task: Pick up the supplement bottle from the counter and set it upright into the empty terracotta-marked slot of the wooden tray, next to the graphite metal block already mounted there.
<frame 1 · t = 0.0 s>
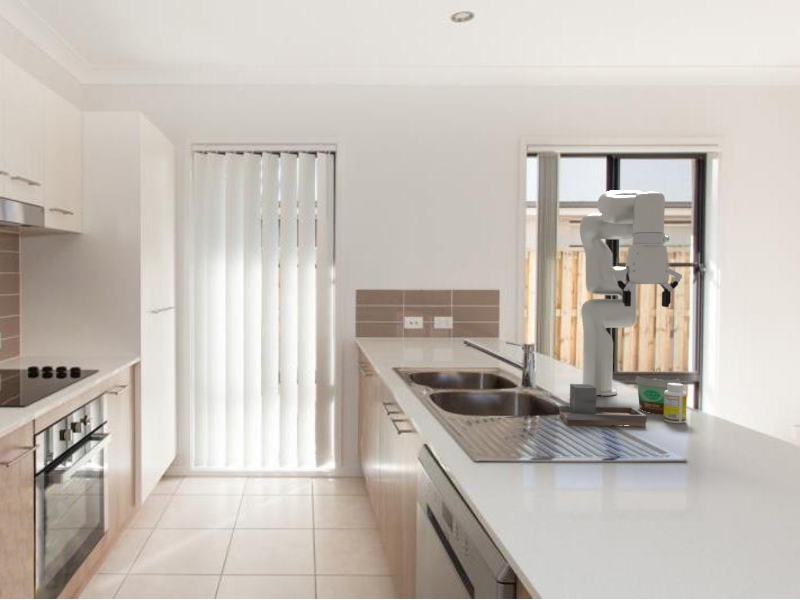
hand: (646, 306, 156), 31 cm above the counter, fingers open, 9 cm apart
supplement bottle: (674, 422, 162), on the counter
wooden tray: (601, 421, 161), on the counter
food container: (655, 413, 173), on the counter
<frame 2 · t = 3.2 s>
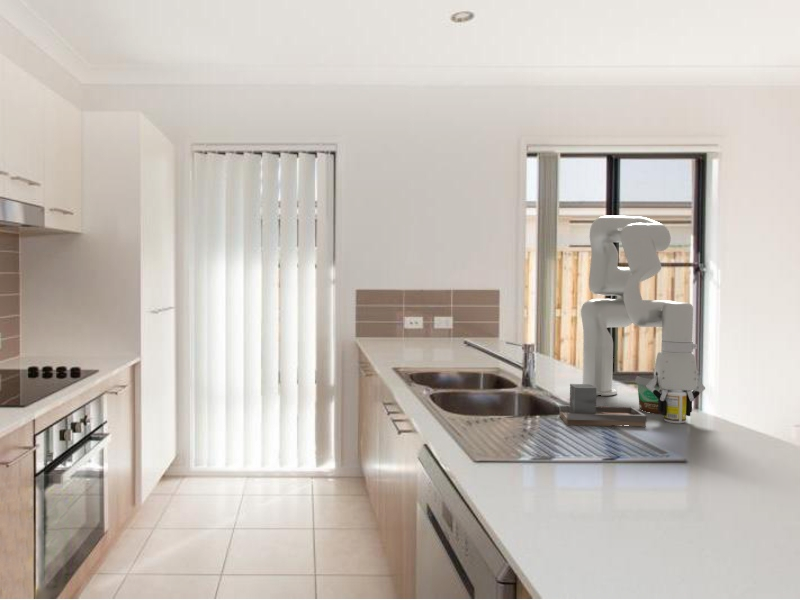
hand: (674, 414, 162), 2 cm above the counter, fingers closed on supplement bottle, 5 cm apart
supplement bottle: (674, 422, 162), on the counter, touching gripper
everything else where it was.
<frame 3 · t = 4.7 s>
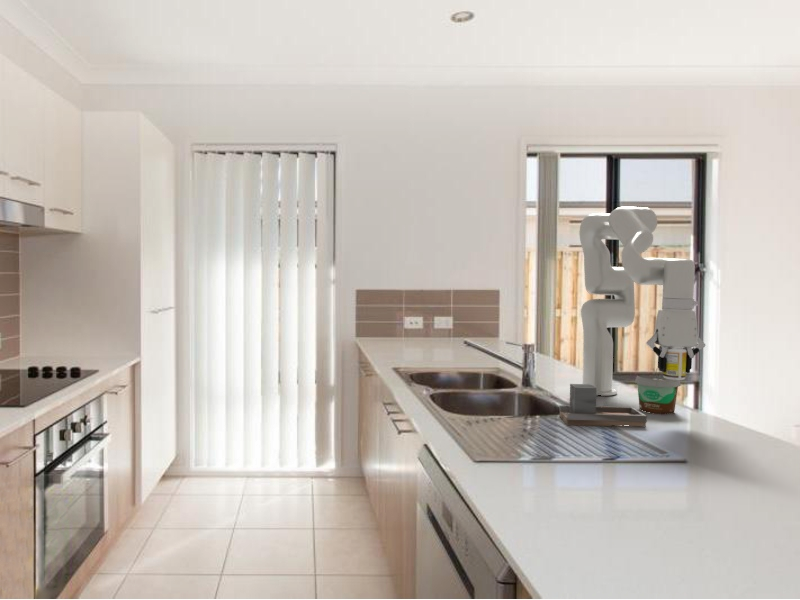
hand: (674, 371, 162), 14 cm above the counter, fingers closed on supplement bottle, 5 cm apart
supplement bottle: (673, 379, 162), point 11 cm above the counter, touching gripper
everything else where it was.
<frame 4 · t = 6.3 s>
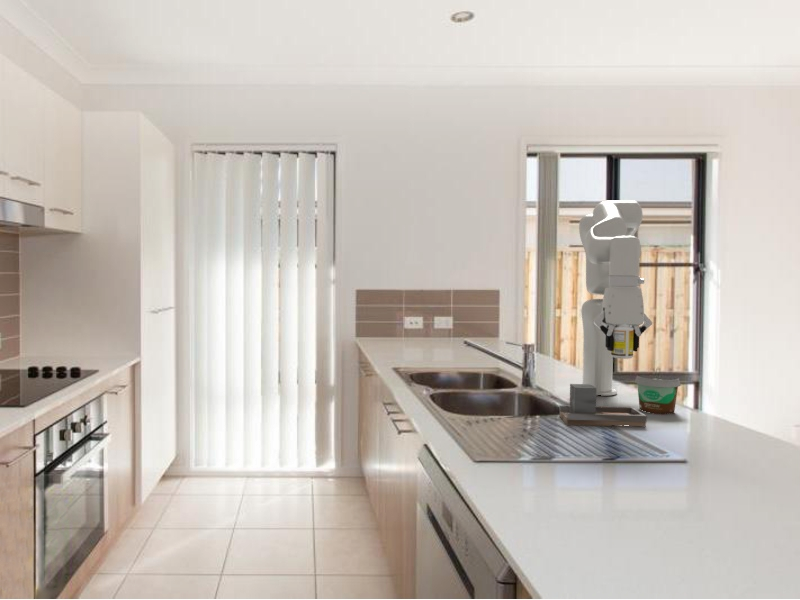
hand: (621, 349, 160), 19 cm above the counter, fingers closed on supplement bottle, 5 cm apart
supplement bottle: (621, 358, 160), point 17 cm above the counter, touching gripper
everything else where it was.
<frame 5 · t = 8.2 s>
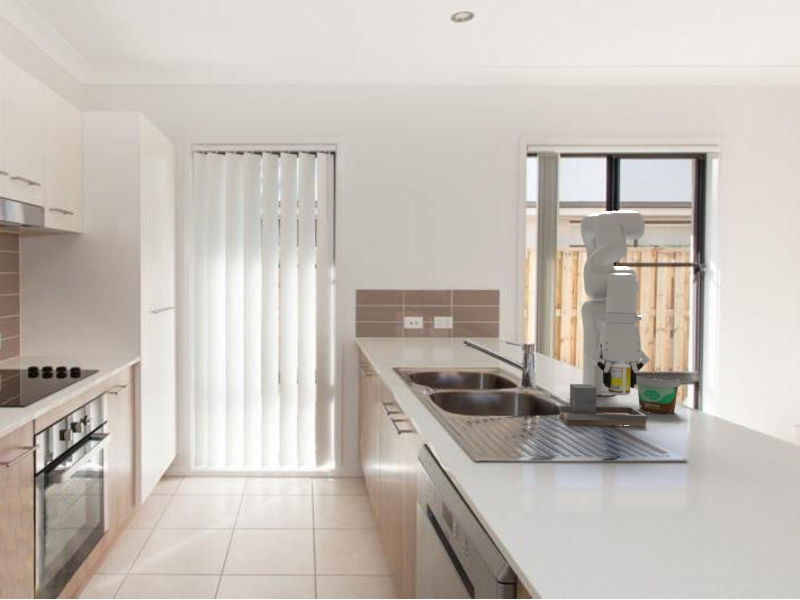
hand: (619, 386, 160), 10 cm above the counter, fingers closed on supplement bottle, 5 cm apart
supplement bottle: (619, 394, 160), point 7 cm above the counter, touching gripper
everything else where it was.
when the fingers open (4 cm above the counter, at t = 9.7 s): supplement bottle stays where it is, resting on wooden tray.
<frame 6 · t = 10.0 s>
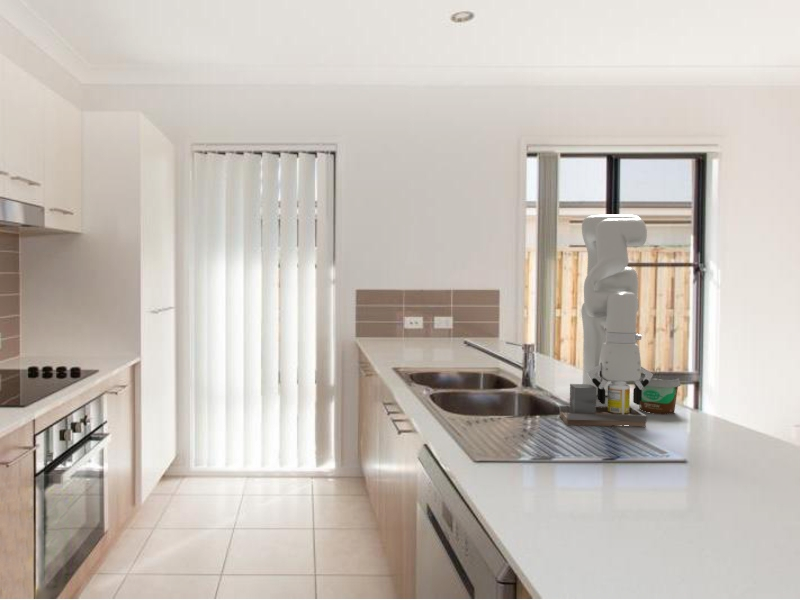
hand: (619, 403, 161), 5 cm above the counter, fingers open, 8 cm apart
supplement bottle: (618, 416, 161), point 2 cm above the counter, touching wooden tray
everything else where it was.
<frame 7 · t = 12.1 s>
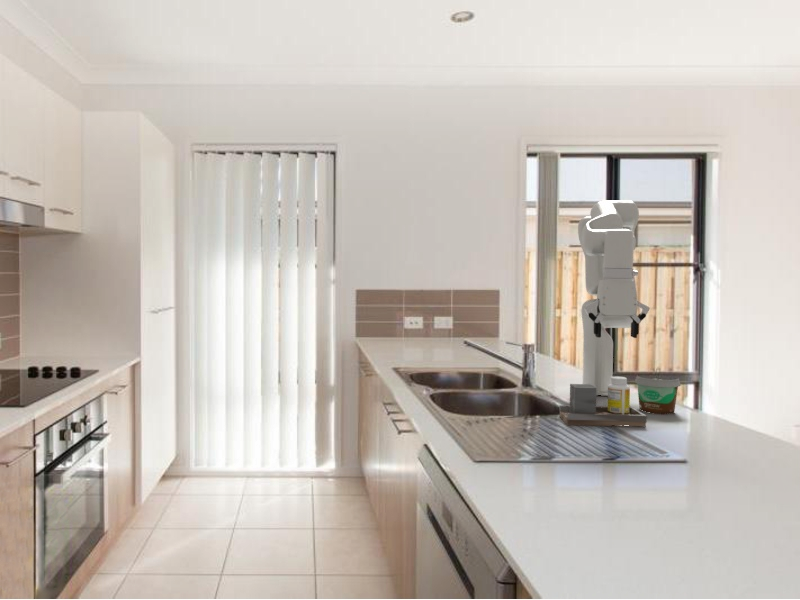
hand: (615, 337, 165), 22 cm above the counter, fingers open, 9 cm apart
nothing on the counter moved.
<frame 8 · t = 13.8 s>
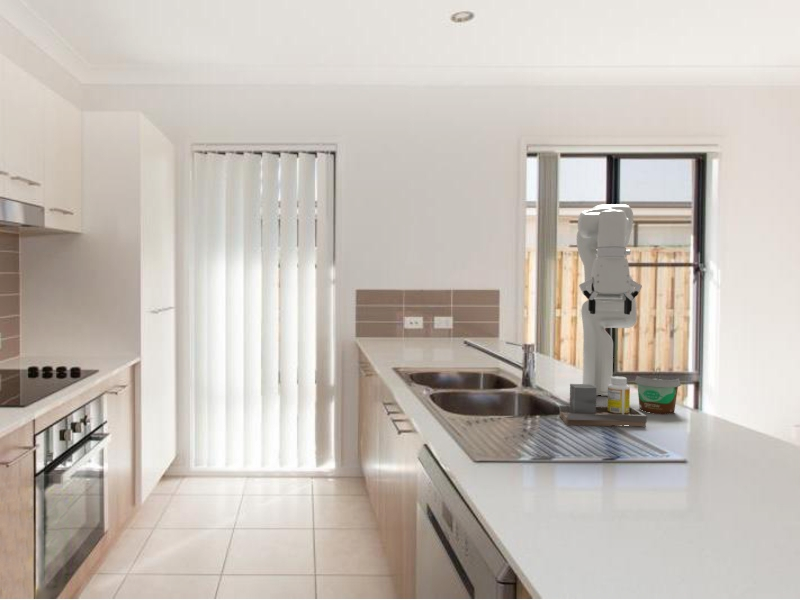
hand: (609, 314, 172), 28 cm above the counter, fingers open, 9 cm apart
nothing on the counter moved.
at the end: supplement bottle 0.1 cm from the target spot, point 1.5 cm above the counter; supplement bottle tilted 0°; the gripper is holding nothing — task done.
